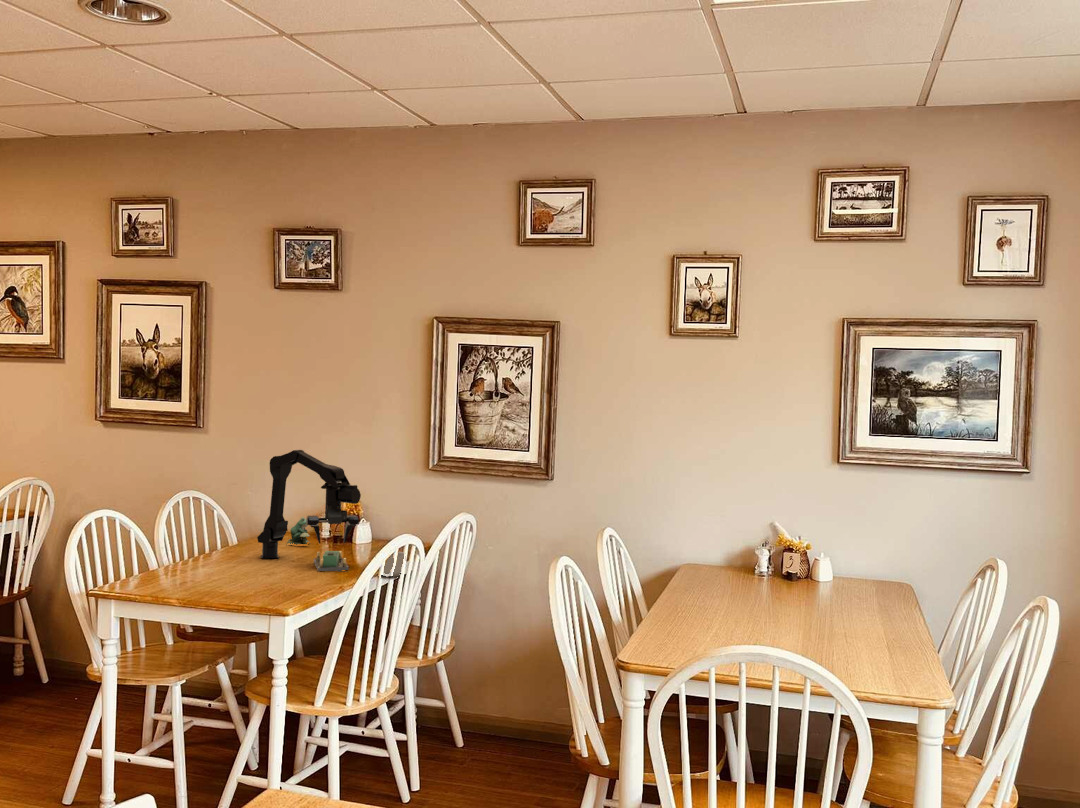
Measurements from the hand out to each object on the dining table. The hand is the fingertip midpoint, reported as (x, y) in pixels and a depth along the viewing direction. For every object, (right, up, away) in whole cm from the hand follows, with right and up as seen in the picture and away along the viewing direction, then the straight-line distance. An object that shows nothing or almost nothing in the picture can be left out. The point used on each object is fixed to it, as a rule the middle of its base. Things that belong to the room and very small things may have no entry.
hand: (332, 543), depth 359 cm
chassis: (-1, -9, 0) cm, 9 cm away
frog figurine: (-23, -7, +41) cm, 48 cm away
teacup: (+23, -10, -9) cm, 26 cm away
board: (-1, -7, 0) cm, 7 cm away
